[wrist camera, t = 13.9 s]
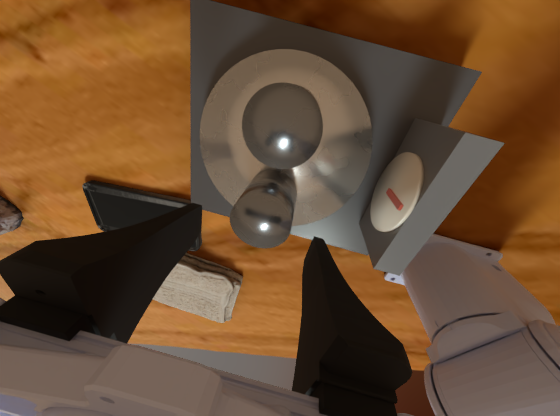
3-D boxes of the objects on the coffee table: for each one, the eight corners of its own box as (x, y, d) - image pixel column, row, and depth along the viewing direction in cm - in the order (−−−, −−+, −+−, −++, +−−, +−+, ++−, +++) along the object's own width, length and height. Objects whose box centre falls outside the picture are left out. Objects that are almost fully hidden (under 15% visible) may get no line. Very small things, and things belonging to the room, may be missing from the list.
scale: (459, 74, 16) (583, 61, 8) (363, 240, 24) (383, 305, 17) (207, 7, 16) (116, -62, 9) (201, 196, 25) (154, 240, 17)
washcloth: (234, 312, 37) (227, 330, 34) (137, 282, 36) (123, 297, 34) (247, 269, 31) (240, 286, 28) (131, 231, 30) (113, 245, 28)
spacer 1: (327, 89, 14) (333, 90, 10) (313, 152, 16) (312, 175, 12) (264, 79, 14) (243, 75, 10) (259, 143, 17) (240, 162, 12)
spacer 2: (302, 177, 18) (298, 205, 13) (290, 218, 20) (283, 254, 16) (252, 164, 18) (232, 188, 13) (246, 206, 20) (227, 239, 16)
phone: (79, 181, 25) (195, 205, 25) (88, 177, 26) (200, 200, 26) (99, 231, 29) (199, 253, 29) (106, 226, 30) (203, 248, 30)
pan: (406, 80, 14) (411, 79, 13) (332, 236, 21) (333, 241, 20) (207, 27, 14) (201, 24, 13) (201, 200, 21) (198, 204, 21)
